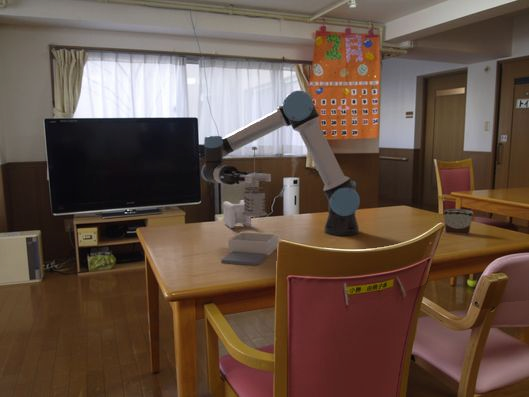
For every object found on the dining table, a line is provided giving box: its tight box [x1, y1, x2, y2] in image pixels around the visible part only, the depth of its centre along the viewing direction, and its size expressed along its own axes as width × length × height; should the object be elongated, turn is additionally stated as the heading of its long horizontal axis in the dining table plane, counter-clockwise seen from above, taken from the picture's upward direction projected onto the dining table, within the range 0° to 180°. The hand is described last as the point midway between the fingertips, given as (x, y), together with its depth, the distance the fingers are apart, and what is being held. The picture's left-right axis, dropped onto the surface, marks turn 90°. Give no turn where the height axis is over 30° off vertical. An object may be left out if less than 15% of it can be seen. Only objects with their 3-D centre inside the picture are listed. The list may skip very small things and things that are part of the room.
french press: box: [242, 146, 268, 217], centre depth 158 cm, size 10×12×25 cm
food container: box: [442, 208, 475, 236], centre depth 187 cm, size 12×6×10 cm, turn 65°
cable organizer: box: [222, 199, 252, 229], centre depth 204 cm, size 15×11×12 cm
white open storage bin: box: [227, 231, 279, 257], centre depth 161 cm, size 15×13×5 cm
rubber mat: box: [220, 251, 268, 267], centre depth 149 cm, size 13×11×1 cm
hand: (260, 178), depth 154 cm, fingers closed on french press, 8 cm apart
